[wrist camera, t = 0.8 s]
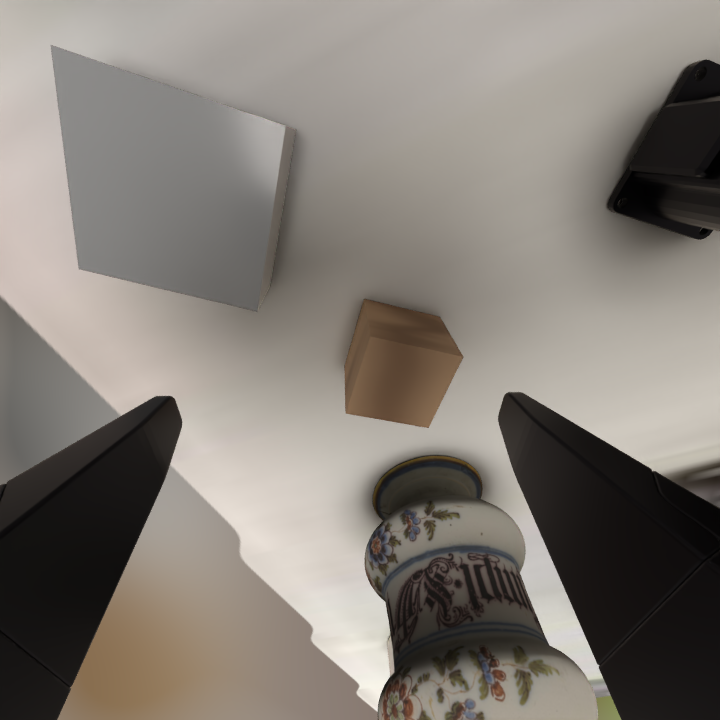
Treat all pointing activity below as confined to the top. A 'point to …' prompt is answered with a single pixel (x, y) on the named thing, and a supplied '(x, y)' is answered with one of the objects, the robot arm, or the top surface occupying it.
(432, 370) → the walnut cube
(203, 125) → the stoneware block
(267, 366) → the top surface
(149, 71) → the top surface
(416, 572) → the apothecary jar
